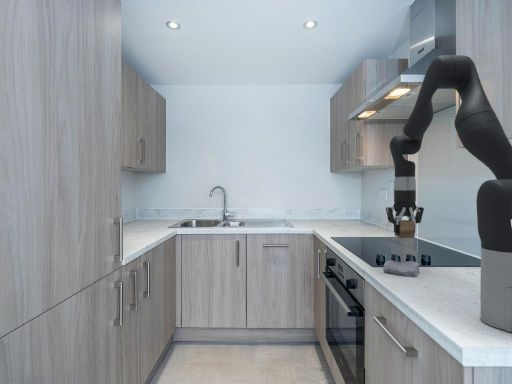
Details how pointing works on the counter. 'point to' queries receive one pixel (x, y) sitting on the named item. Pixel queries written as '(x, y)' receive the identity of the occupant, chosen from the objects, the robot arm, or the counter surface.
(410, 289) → the counter surface
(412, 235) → the walnut block
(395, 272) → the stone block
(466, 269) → the counter surface
